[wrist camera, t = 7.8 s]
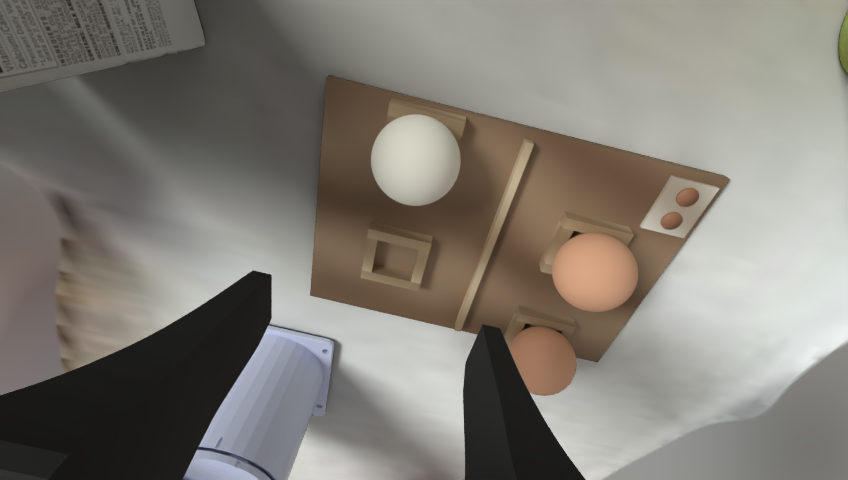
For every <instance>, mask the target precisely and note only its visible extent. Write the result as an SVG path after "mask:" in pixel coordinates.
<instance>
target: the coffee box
mask: <svg viewBox="0 0 848 480" xmlns="http://www.w3.org/2000/svg"><path fill="white" fill-rule="evenodd" d="M204 45H205V38H204V34H203V30H202V27H201V23H200V20H199V16H198V13H197V9H196V6H195V2H194V0H0V92H4V91H9V90H13V89H18V88H22V87H26V86H31V85H35V84H40V83H44V82H49V81H53V80H58V79H62V78H67V77H71V76H76V75H80V74H84V73H89V72H93V71H98V70H102V69H107V68H111V67H115V66H120V65H124V64H128V63H133V62H138V61H142V60H146V59H150V58H156V57H161V56H166V55H169V54H174V53H178V52H182V51H186V50H190V49H195V48H199V47H203V46H204Z"/></svg>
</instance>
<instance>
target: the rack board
mask: <svg viewBox="0 0 848 480" xmlns="http://www.w3.org/2000/svg"><path fill="white" fill-rule="evenodd" d="M413 114H418V115H425V116H429V117H432V118H434V119H436V120H438V121H440V122H441V123H443V124H444V125H445V126H446V127H447V128H448V129H449V130H450V131H451V133H452V134H453V136H454V137H455V139H456V141H457V144H458V147H459V151H460V159H461V163H460V170H459V174H458V177H457V179H456V181H455V183H454V185H453V186H452V188H451V189H450V190H449V191H448V192H447V194H445V195H444V196H443V197H442V198H440V199H439V200H437V201H435V202H433V203H430V204H427V205H421V206H410V205H405V204H402V203H399V202H397V201H395V200H393V199H392V198H390V197H389V196H388V195H386V194H385V193H384V192H383V191H382V189H381V188H380V187H379V185H378V184H377V182H376V180H375V178H374V175H373V172H372V167H371V152H372V148H373V145H374V142H375V140H376V138H377V136H378V134H379V133H380V132H381V131H382V129H383V128H384V127H385V126H386V125H387V124H389V123H390V122H392V121H393V120H395V119H397V118H400V117H402V116H406V115H413ZM729 180H730V179H729V178H727V177H726V176H723V175H719V174H715V173H712V172H708V171H704V170H700V169H696V168H692V167H688V166H684V165H680V164H676V163H672V162H668V161H664V160H660V159H656V158H652V157H649V156H645V155H641V154H637V153H633V152H629V151H625V150H621V149H617V148H613V147H609V146H605V145H601V144H597V143H593V142H589V141H586V140H582V139H578V138H574V137H570V136H566V135H562V134H558V133H554V132H550V131H546V130H542V129H538V128H534V127H530V126H526V125H523V124H519V123H515V122H511V121H507V120H503V119H499V118H495V117H491V116H487V115H483V114H479V113H475V112H471V111H467V110H464V109H460V108H456V107H452V106H448V105H444V104H440V103H436V102H432V101H428V100H424V99H420V98H416V97H412V96H408V95H404V94H401V93H397V92H393V91H389V90H385V89H381V88H377V87H373V86H369V85H365V84H361V83H357V82H353V81H349V80H345V79H341V78H338V77H334V76H330V75H329V76H327V77H326V90H325V103H324V117H323V130H322V144H321V157H320V171H319V184H318V197H317V211H316V224H315V238H314V251H313V265H312V278H311V291H310V296H314V297H319V298H323V299H327V300H332V301H336V302H340V303H345V304H349V305H353V306H358V307H362V308H366V309H370V310H375V311H379V312H383V313H388V314H392V315H396V316H401V317H405V318H409V319H413V320H418V321H422V322H426V323H431V324H435V325H439V326H444V327H448V328H452V329H455V330H456V331H460V332H461V331H465V332H469V333H474V334H478V333H479V331H480V328H481V326H482V324H484V325H489V326H493V327H497V328H500V329H501V331H502V333H503V335H504V338H505V340H506V343H507V345H508V348H509V346H510V344H511V342H512V340H513V339H514V338H515V336H516V335H517V334H518V333H520V332H521V331H523V330H525V329H527V328H530V327H535V326H543V327H548V328H551V329H554V330H556V331H557V332H559V333H560V334H562V335H563V336H564V337H565V338H566V339H567V340H568V341H569V343H570V344H571V346H572V348H573V350H574V353H575V356H576V357H577V358H581V359H586V360H590V361H594V362H598V361H599V359H600V358H601V357H602V355H603V354H604V353H605V351H606V350H607V348H608V347H609V346H610V344H611V343H612V341H613V340H614V339H615V337H616V336H617V335H618V333H619V332H620V330H621V329H622V328H623V326H624V325H625V324H626V322H627V321H628V319H629V318H630V317H631V315H632V314H633V312H634V311H635V310H636V308H637V307H638V306H639V304H640V303H641V301H642V300H643V299H644V297H645V296H646V295H647V293H648V292H649V290H650V289H651V288H652V286H653V285H654V283H655V282H656V281H657V279H658V278H659V277H660V275H661V274H662V272H663V271H664V270H665V268H666V267H667V266H668V264H669V263H670V261H671V260H672V259H673V257H674V256H675V254H676V253H677V252H678V250H679V249H680V248H681V246H682V245H683V243H684V242H685V241H686V239H687V238H688V237H689V235H690V234H691V232H692V231H693V230H694V228H695V227H696V225H697V224H698V223H699V221H700V220H701V219H702V217H703V216H704V214H705V213H706V212H707V210H708V209H709V208H710V206H711V205H712V203H713V202H714V201H715V199H716V198H717V196H718V195H719V194H720V192H721V191H722V190H723V188H724V187H725V185H726V184H727V183H728V181H729ZM585 233H603V234H607V235H610V236H612V237H615V238H616V239H618V240H620V241H621V242H622V243H624V244H625V245H626V246H627V247H628V248H629V249H630V251H631V252H632V253H633V255H634V257H635V259H636V262H637V266H638V281H637V285H636V288H635V290H634V292H633V293H632V295H631V296H630V297H629V299H628V300H627V301H625V302H624V303H623V304H622V305H620V306H618V307H616V308H614V309H612V310H608V311H604V312H590V311H585V310H581V309H579V308H576V307H574V306H573V305H571V304H570V303H568V302H567V301H566V300H565V299H564V298H563V297H562V296H561V295H560V294H559V292H558V291H557V289H556V287H555V284H554V281H553V277H552V265H553V261H554V258H555V256H556V254H557V252H558V250H559V249H560V248H561V246H562V245H564V244H565V243H566V242H567V241H568V240H570V239H571V238H573V237H575V236H578V235H581V234H585Z"/></svg>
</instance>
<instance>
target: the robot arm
mask: <svg viewBox="0 0 848 480" xmlns="http://www.w3.org/2000/svg"><path fill="white" fill-rule="evenodd" d="M270 320H271V275H270V274H266V273H261V272H257V271H252V272H250V273H249V274H247V275H246V276H244V277H243V278H241V279H240V280H238V281H237V282H235V283H234V284H233V285H231V286H230V287H228V288H227V289H225V290H224V291H222V292H221V293H219V294H218V295H216V296H215V297H213V298H212V299H210V300H209V301H207V302H206V303H204V304H203V305H201V306H200V307H198V308H197V309H195V310H193V311H192V312H190V313H188V314H187V315H185V316H183V317H182V318H180V319H178V320H177V321H175V322H173V323H172V324H170V325H168V326H166V327H165V328H163V329H161V330H159V331H157V332H156V333H154V334H152V335H150V336H148V337H146V338H144V339H142V340H140V341H138V342H136V343H134V344H132V345H130V346H128V347H126V348H124V349H122V350H119V351H117V352H115V353H113V354H110V355H108V356H106V357H103V358H101V359H99V360H97V361H94V362H92V363H90V364H87V365H85V366H82V367H80V368H77V369H75V370H72V371H70V372H67V373H65V374H62V375H59V376H57V377H54V378H51V379H48V380H45V381H43V382H40V383H37V384H35V385H31V386H28V387H26V388H22V389H19V390H16V391H13V392H10V393H7V394H4V395H0V480H288V477H289V475H290V472H291V469H292V467H293V464H294V461H295V458H296V456H297V453H298V450H299V448H300V445H301V442H302V440H303V437H304V434H305V431H306V429H307V426H308V423H309V421H310V418H311V415H315V416H323V415H324V414H325V411H326V404H327V396H328V389H329V381H330V374H331V366H332V359H333V352H334V342H333V341H332V340H330V339H326V338H322V337H317V336H313V335H309V334H304V333H300V332H296V331H291V330H287V329H282V328H278V327H274V326H269V323H270ZM463 404H464V435H465V480H585V478H584V477H583V476H582V474H581V473H580V472H579V470H578V469H577V468H576V466H575V465H574V464H573V462H572V461H571V460H570V458H569V457H568V456H567V454H566V453H565V451H564V450H563V448H562V447H561V445H560V444H559V442H558V441H557V439H556V438H555V436H554V435H553V433H552V432H551V430H550V428H549V427H548V425H547V423H546V422H545V420H544V418H543V417H542V415H541V413H540V411H539V410H538V408H537V406H536V404H535V402H534V400H533V399H532V397H531V395H530V393H529V391H528V389H527V387H526V385H525V383H524V381H523V379H522V377H521V375H520V373H519V370H518V368H517V366H516V364H515V362H514V359H513V357H512V355H511V352H510V350H509V348H508V345H507V343H506V340H505V338H504V335H503V333H502V331H501V329H500V328H497V327H493V326H489V325H484V324H482V326H481V328H480V331H479V333H478V335H477V338H476V340H475V342H474V345H473V347H472V349H471V352H470V354H469V356H468V359H467V361H466V365H465V376H464V388H463Z"/></svg>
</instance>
